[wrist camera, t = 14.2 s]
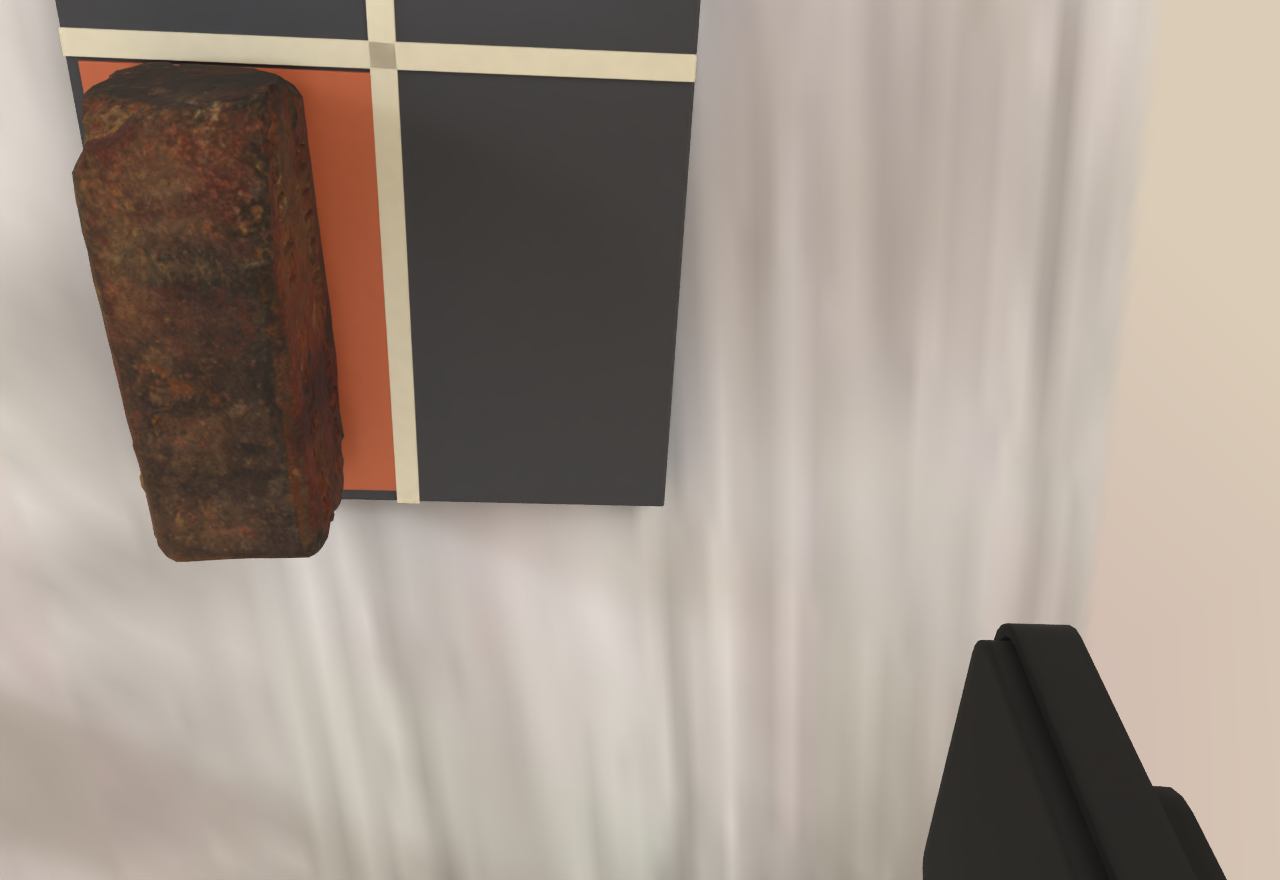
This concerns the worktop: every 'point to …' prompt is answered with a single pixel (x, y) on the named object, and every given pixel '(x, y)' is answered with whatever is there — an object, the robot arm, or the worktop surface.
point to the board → (473, 223)
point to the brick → (215, 305)
